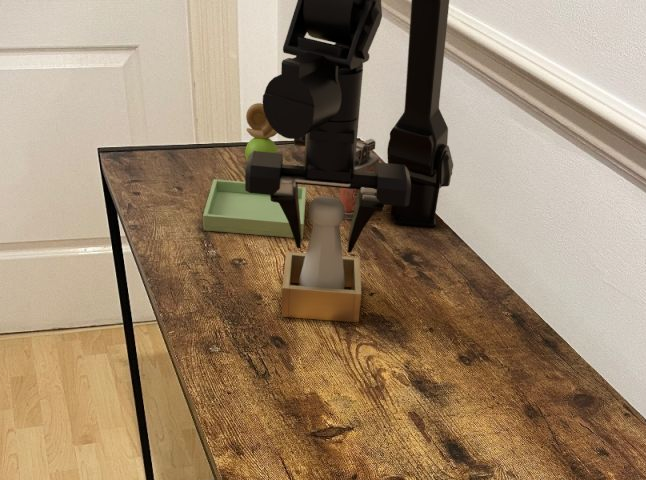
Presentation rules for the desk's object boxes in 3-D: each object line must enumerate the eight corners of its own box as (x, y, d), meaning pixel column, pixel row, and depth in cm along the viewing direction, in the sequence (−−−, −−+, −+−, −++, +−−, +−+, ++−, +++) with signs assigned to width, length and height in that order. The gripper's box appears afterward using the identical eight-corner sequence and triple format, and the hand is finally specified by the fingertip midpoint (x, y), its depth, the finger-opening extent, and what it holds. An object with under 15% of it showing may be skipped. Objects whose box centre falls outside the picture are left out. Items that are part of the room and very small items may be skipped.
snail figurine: (282, 180, 127) (284, 100, 119) (243, 175, 127) (242, 96, 118) (285, 167, 131) (287, 90, 123) (247, 163, 131) (246, 85, 122)
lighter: (351, 221, 118) (357, 153, 111) (332, 214, 120) (337, 146, 113) (378, 205, 124) (385, 139, 117) (360, 199, 125) (366, 133, 118)
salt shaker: (323, 317, 97) (330, 215, 88) (289, 300, 100) (292, 199, 91) (352, 301, 101) (361, 202, 92) (318, 284, 103) (324, 186, 94)
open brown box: (357, 285, 104) (360, 257, 101) (358, 322, 97) (361, 293, 95) (285, 279, 103) (286, 251, 101) (281, 317, 96) (282, 287, 94)
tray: (305, 201, 122) (306, 187, 120) (302, 238, 113) (303, 223, 111) (214, 193, 121) (213, 178, 119) (203, 230, 111) (202, 215, 110)
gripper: (412, 98, 91) (396, 227, 102) (252, 82, 90) (252, 214, 100) (419, 131, 83) (400, 267, 94) (244, 114, 82) (245, 254, 92)
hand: (324, 249), depth 96 cm, fingers open, 6 cm apart
